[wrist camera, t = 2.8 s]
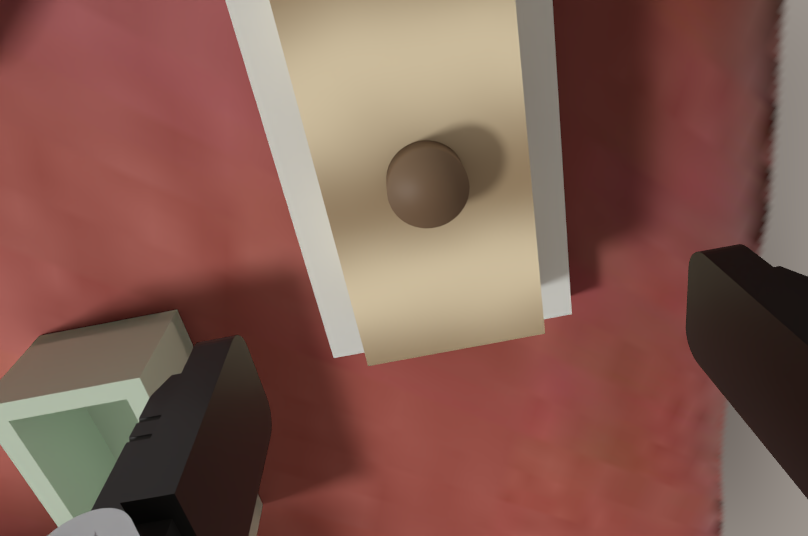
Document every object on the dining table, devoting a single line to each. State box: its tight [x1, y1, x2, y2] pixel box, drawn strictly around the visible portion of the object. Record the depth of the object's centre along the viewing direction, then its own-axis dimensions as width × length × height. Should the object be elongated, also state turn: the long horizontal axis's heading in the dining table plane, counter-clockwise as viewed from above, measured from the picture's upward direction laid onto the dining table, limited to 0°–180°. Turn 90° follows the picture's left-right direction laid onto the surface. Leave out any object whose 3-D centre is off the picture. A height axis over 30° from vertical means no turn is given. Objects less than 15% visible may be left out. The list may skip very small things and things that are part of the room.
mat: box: [226, 0, 572, 358], centre depth 21 cm, size 16×10×1 cm, turn 11°
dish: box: [0, 310, 263, 536], centre depth 25 cm, size 12×6×4 cm, turn 11°
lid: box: [269, 0, 545, 366], centre depth 19 cm, size 13×6×4 cm, turn 11°
